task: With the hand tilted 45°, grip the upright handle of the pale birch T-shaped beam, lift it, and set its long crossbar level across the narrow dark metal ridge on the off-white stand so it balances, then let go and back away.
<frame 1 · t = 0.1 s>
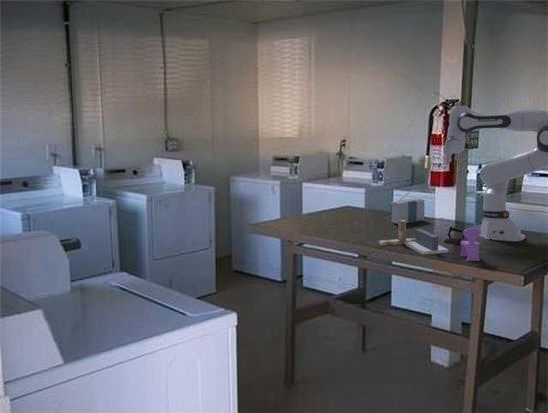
hand: (452, 161, 331), 39 cm above the table, tool pointing down, fingers open, 8 cm apart
clothes iron: (456, 243, 310), on the table
balance beam: (402, 243, 313), on the table
ridge stand: (426, 248, 300), on the table
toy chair: (469, 258, 281), on the table
stereo radio cassette player: (407, 222, 366), on the table
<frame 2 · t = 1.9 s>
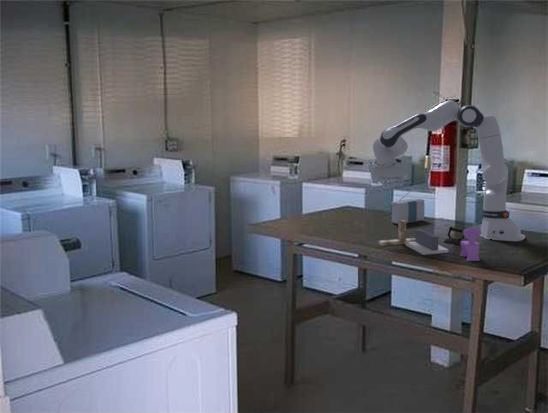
hand: (393, 185, 321), 28 cm above the table, tool tilted 45°, fingers open, 8 cm apart
nothing on the table moved.
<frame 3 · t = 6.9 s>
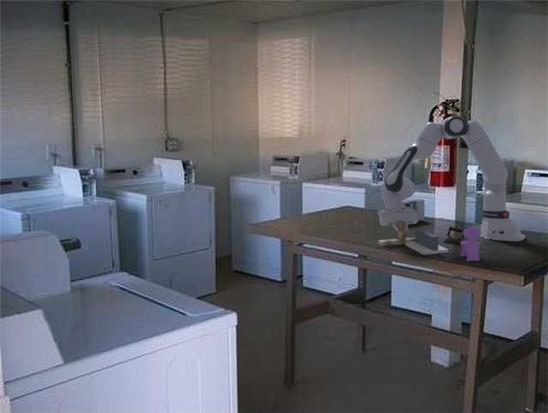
hand: (402, 230, 312), 7 cm above the table, tool tilted 45°, fingers closed on balance beam, 3 cm apart
balance beam: (402, 243, 313), on the table, touching gripper
everything else where it was.
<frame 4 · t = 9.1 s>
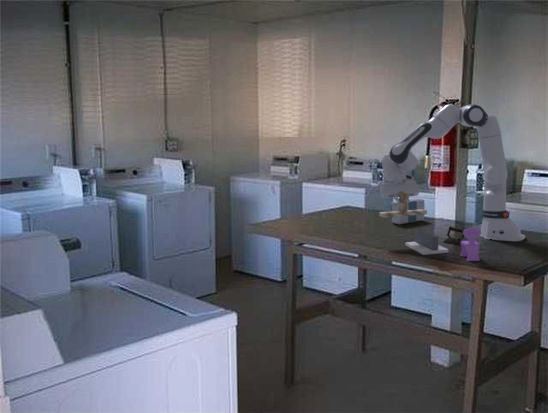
hand: (403, 202, 309), 21 cm above the table, tool tilted 45°, fingers closed on balance beam, 3 cm apart
balance beam: (403, 215, 311), point 15 cm above the table, touching gripper
everything else where it was.
when the fingers open (16 cm above the table, at t = 11.7 s): balance beam stays where it is, resting on ridge stand.
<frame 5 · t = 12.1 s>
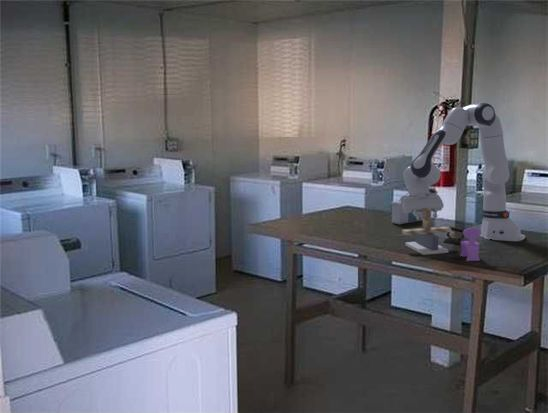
hand: (427, 217, 297), 16 cm above the table, tool tilted 45°, fingers open, 7 cm apart
balance beam: (426, 232, 299), point 8 cm above the table, touching ridge stand
everything else where it was.
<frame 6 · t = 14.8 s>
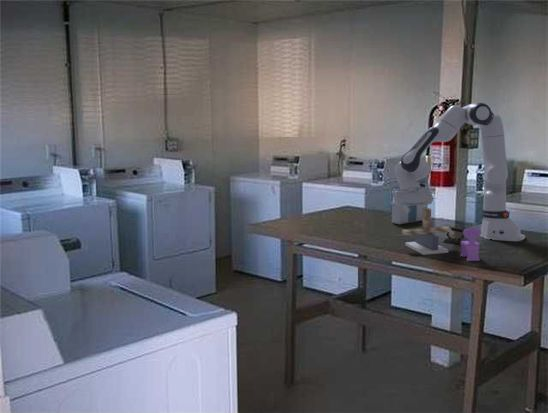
hand: (417, 211, 307), 17 cm above the table, tool tilted 45°, fingers open, 8 cm apart
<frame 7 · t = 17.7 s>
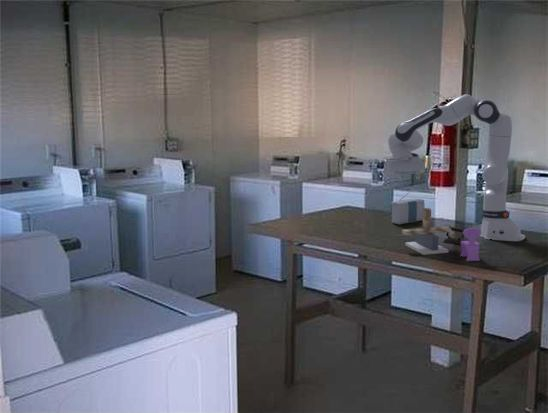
hand: (409, 179, 319), 31 cm above the table, tool tilted 45°, fingers open, 8 cm apart
at the end: balance beam 0.1 cm off-centre on the ridge stand, point 8.0 cm above the ridge stand's base; balance beam tilted 0°; the gripper is holding nothing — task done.
